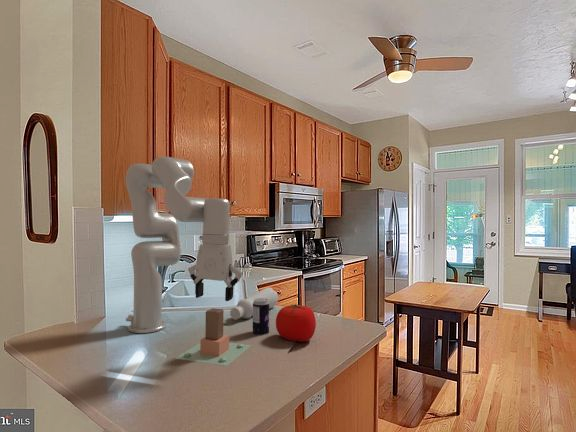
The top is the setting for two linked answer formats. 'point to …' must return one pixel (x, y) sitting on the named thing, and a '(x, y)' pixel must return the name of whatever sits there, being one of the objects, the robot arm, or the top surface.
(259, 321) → the beverage can
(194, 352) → the baseplate
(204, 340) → the brick
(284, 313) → the tomato
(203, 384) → the top surface
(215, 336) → the wooden block
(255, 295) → the bottle
